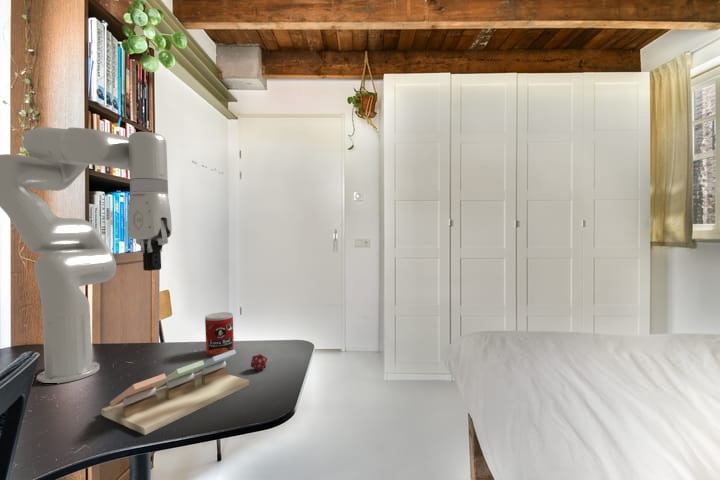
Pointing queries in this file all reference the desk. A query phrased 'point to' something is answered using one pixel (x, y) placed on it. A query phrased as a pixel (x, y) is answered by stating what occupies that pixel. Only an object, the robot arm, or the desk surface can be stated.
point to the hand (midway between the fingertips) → (152, 269)
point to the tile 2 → (180, 375)
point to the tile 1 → (138, 391)
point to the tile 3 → (215, 363)
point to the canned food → (219, 333)
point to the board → (175, 401)
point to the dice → (258, 362)
